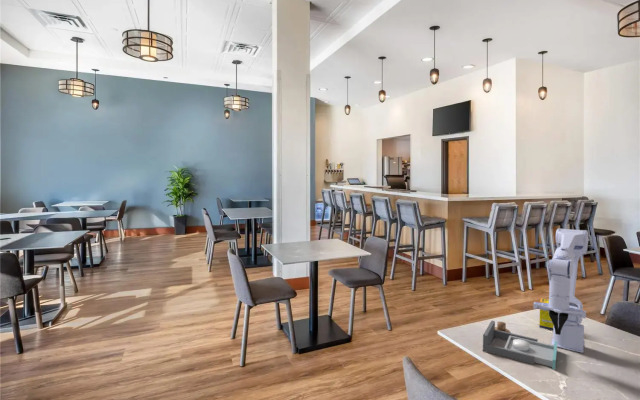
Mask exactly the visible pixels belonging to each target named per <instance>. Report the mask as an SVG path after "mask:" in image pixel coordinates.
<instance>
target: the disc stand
mask: <svg viewBox="0 0 640 400" xmlns="http://www.w3.org/2000/svg"><path fill="white" fill-rule="evenodd" d="M506 326H507V325H506V322H504V321H497V323H496V326H495V330H499V331H504V332H508V333H511V331H510V330H509V329H508V328H507V327H506Z"/></svg>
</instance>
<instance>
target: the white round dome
mask: <svg viewBox="0 0 640 400" xmlns="http://www.w3.org/2000/svg"><path fill="white" fill-rule="evenodd" d="M513 348H515V349H516V350H519V351H524V352H527V351H529V350H530V344H529V343H528V342H527V341H524V340H520V339H515V340H513Z"/></svg>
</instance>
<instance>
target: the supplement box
mask: <svg viewBox="0 0 640 400" xmlns="http://www.w3.org/2000/svg"><path fill="white" fill-rule="evenodd" d="M539 303H549V298H540V300H539ZM538 325H539V328H541V329H546V330H552V331H553V322H552V320H551V318H550V316H549V311H547V310H541V309H539V323H538Z"/></svg>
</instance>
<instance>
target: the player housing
mask: <svg viewBox="0 0 640 400" xmlns="http://www.w3.org/2000/svg"><path fill="white" fill-rule="evenodd" d="M486 327H487V328H486V329H485V332H483V334H482V335H483V336H482V352H485V353H488V354H493V355H495V356H500V357H504V358H508V359H512V360H515V361H518V362H523V363H525V364H529V365H534V364H535V362H534V356H533V355H529V354H525V353H521V352H517V351H513V350H509V349H505V347H501V346H497V345H494V344H492V342H493V340H494V338H497V339H502V340H505V341H508V338H509V336H515V337H519V338H523V339H528V340H532V341H536V342H539V341H538V338H534V337H530V336H525V335H521V334H517V333H513V332H512V333H511V332H510V333H508V332H504V331H499V330H495V327H496V321H495V320H491V321H490V322H489V324H488V326H486Z"/></svg>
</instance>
